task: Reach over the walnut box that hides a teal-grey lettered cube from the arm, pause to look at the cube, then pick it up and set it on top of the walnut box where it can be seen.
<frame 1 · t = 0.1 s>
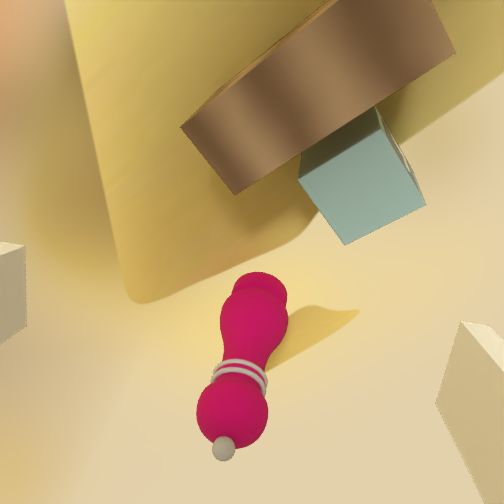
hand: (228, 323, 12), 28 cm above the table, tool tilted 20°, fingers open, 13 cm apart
letter cube: (357, 158, 38), on the table
pepper mill: (260, 291, 48), on the table
walnut box: (311, 64, 34), on the table
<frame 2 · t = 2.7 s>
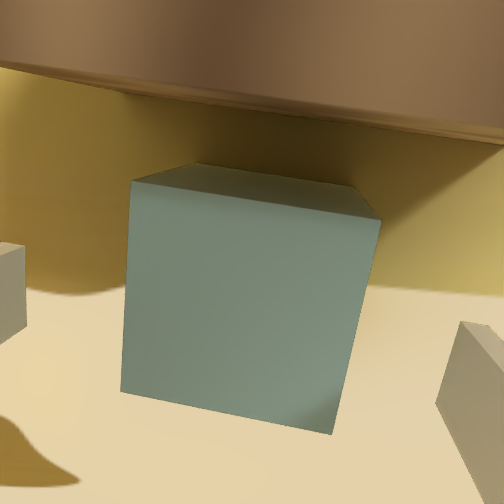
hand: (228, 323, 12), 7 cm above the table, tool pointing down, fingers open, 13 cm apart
letter cube: (262, 250, 19), on the table
walnut box: (319, 37, 16), on the table
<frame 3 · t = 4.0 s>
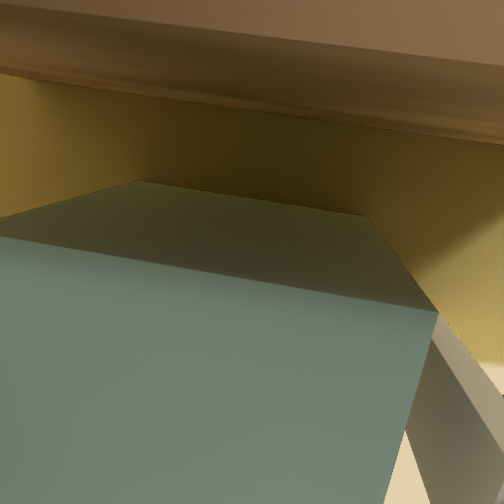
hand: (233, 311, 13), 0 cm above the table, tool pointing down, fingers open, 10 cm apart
letter cube: (235, 303, 14), on the table
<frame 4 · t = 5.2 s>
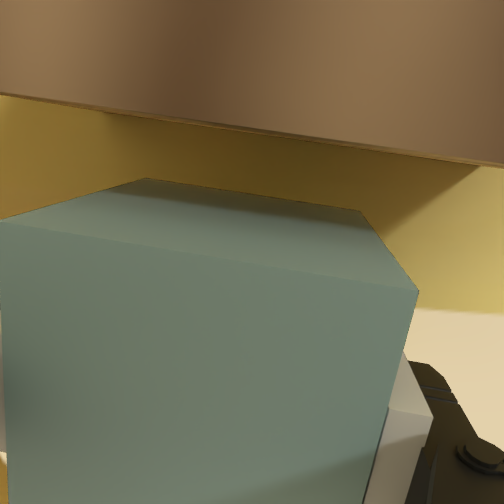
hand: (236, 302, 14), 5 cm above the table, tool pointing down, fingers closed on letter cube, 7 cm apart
letter cube: (237, 293, 14), point 5 cm above the table, touching gripper
walnut box: (298, 60, 17), on the table
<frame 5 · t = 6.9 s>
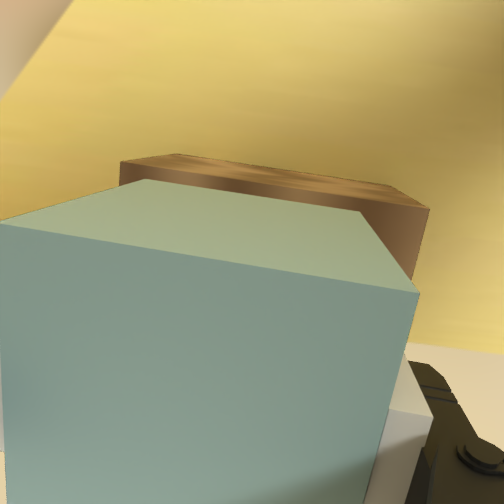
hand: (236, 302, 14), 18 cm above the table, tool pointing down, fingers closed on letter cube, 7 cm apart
letter cube: (236, 295, 14), point 18 cm above the table, touching gripper
walnut box: (275, 209, 32), on the table
when the fingers open (11 cm above the table, at t = 8.6 s): letter cube stays where it is, resting on walnut box.
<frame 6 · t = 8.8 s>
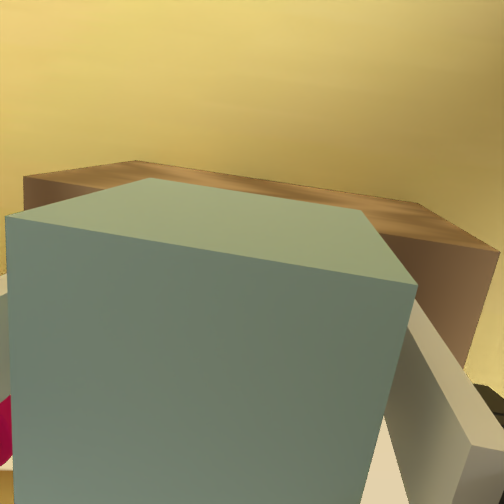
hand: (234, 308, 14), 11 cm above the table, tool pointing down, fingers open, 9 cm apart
letter cube: (239, 292, 15), point 10 cm above the table, touching walnut box
walnut box: (265, 232, 24), on the table
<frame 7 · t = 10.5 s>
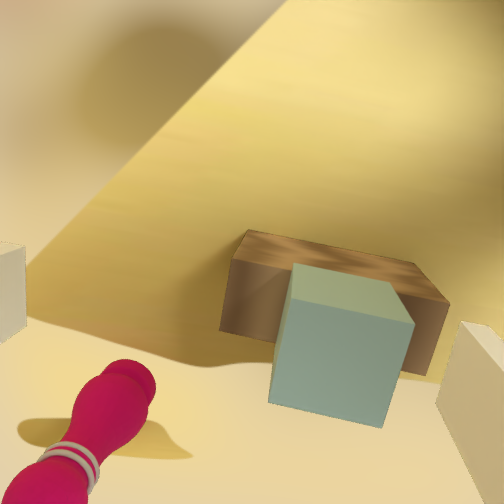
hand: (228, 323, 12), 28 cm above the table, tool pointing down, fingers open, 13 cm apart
letter cube: (330, 316, 31), point 10 cm above the table, touching walnut box
pepper mill: (130, 382, 47), on the table
walnut box: (323, 275, 41), on the table
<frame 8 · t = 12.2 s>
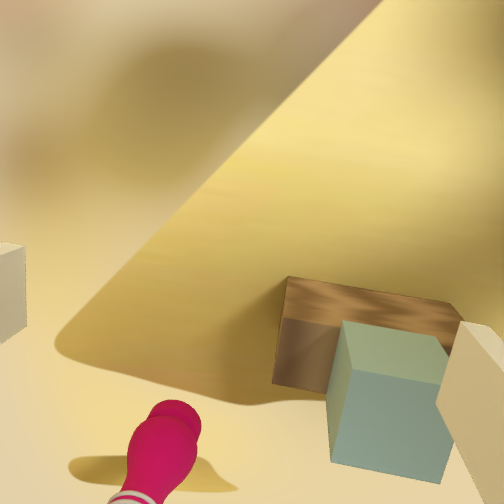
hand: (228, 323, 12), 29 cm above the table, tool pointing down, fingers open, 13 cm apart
letter cube: (378, 368, 33), point 10 cm above the table, touching walnut box
pepper mill: (176, 420, 49), on the table
walnut box: (361, 316, 42), on the table
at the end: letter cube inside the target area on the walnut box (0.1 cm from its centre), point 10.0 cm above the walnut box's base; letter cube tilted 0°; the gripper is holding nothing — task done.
